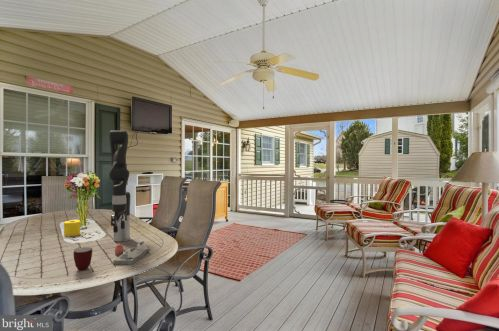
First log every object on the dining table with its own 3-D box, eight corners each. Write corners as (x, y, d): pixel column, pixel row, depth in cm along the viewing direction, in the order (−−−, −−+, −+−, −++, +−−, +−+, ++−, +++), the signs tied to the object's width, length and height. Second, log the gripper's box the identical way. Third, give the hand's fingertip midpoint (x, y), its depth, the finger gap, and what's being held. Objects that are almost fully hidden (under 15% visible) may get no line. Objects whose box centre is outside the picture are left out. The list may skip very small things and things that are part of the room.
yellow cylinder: (83, 232, 207) (83, 220, 207) (73, 236, 197) (73, 223, 197) (70, 232, 208) (70, 219, 208) (60, 236, 198) (60, 222, 198)
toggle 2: (137, 250, 162) (137, 242, 162) (139, 248, 165) (139, 241, 165) (143, 250, 162) (143, 243, 162) (146, 248, 165) (146, 241, 165)
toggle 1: (127, 257, 150) (127, 249, 150) (130, 255, 153) (130, 247, 153) (134, 258, 150) (135, 249, 150) (137, 255, 153) (137, 247, 153)
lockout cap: (113, 255, 160) (113, 245, 159) (117, 253, 164) (117, 243, 164) (121, 255, 159) (121, 246, 159) (124, 253, 164) (124, 243, 164)
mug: (68, 268, 140) (68, 249, 140) (85, 264, 146) (85, 245, 146) (77, 274, 134) (77, 253, 133) (95, 268, 140) (95, 249, 140)
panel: (113, 264, 146) (113, 258, 146) (132, 250, 169) (132, 245, 168) (131, 264, 146) (131, 259, 146) (148, 250, 168) (148, 246, 168)
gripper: (119, 205, 154) (119, 233, 154) (131, 201, 168) (131, 227, 168) (106, 204, 154) (106, 233, 154) (119, 200, 168) (119, 227, 169)
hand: (119, 230), depth 161 cm, fingers open, 8 cm apart
